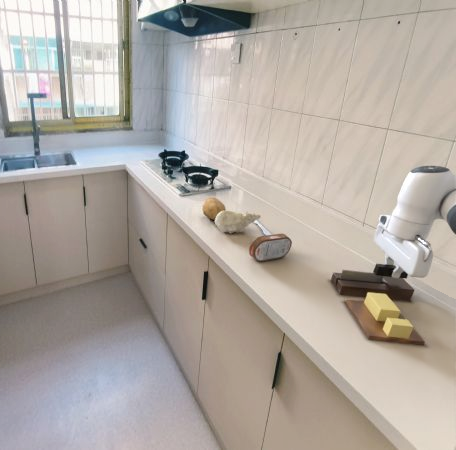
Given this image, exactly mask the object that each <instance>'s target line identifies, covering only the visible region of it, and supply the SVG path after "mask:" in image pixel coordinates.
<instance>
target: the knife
mask: <svg viewBox="0 0 456 450" xmlns="http://www.w3.org/2000/svg"><path fill="white" fill-rule="evenodd" d="M385 264H386V263H385ZM385 264H383V263H375V265H374V268H373V271H372V272H369V271H360V270H359V271H358V270H349V269H342V271H341V272H340V273H341V276H340V280H347V281H357V282H368V283H379V284H381V282H382V279H383V276H386V277H392V276H391V275H390V273H391V270H394V269H395V268H396V266H395V265H396V264H394V265H385ZM408 277H409V275H408V274H407V273H406V272H405V271H404V272H402V273H401V275H400V277H399V278H403V279H404V280H406V279H407V278H408Z"/></svg>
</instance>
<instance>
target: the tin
mask: <svg viewBox="0 0 456 450" xmlns="http://www.w3.org/2000/svg"><path fill="white" fill-rule="evenodd" d="M292 245H293V241H292V239H291V238H290V237H289V236H287V234H285V233H275V234H273V233H272V235H265V234H264V235H260V236H258V237H256V238H255V239H254V240H252V242H251V244H250V246H249V249H248V252H249V256H250V257H251V258H253V259H254V260H255V261H257V262H264V261H265V262H266V261H272V260H278V259H282V258H284V257H286V256H287V255H288V253H289V252H290V250H291V248H292Z"/></svg>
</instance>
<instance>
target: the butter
mask: <svg viewBox="0 0 456 450" xmlns="http://www.w3.org/2000/svg"><path fill="white" fill-rule="evenodd" d="M364 301H365V302H364V304H365V305H366V307H367V308H368V310H369V311H370V312H371V314H372V315H373V316H374V318H375V319H376V320H377V321H384V322H386V319H387V318H396V319H398V317H399V314H400V313H401V310H400V308H399V307H398V305H396V304H395V303H394V301H393V300H391V299H390V298H389V297H388V296H387V295H386V294H380V293H370V292H368V293H367V296H366V297H365V299H364Z"/></svg>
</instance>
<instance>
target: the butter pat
mask: <svg viewBox="0 0 456 450" xmlns="http://www.w3.org/2000/svg"><path fill="white" fill-rule="evenodd" d="M413 328H414V325H413V324H412V323H411V321H410V320H409V319H406V318H405V319H396V318H387V319H386V322H385V324H384V327H383V330H384V332H385V333H386V335H387V336H389V337H397V338H406V339H409V336H410V334H411V332H412V329H413Z"/></svg>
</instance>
